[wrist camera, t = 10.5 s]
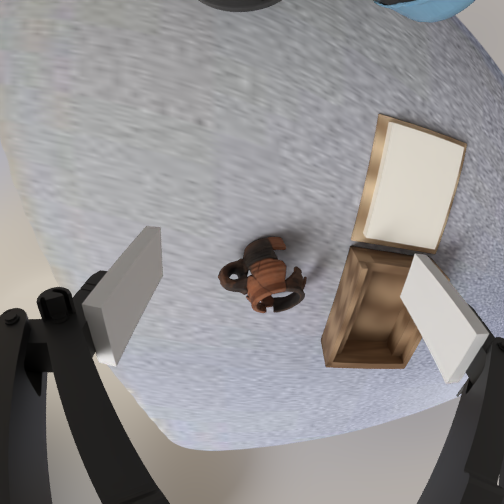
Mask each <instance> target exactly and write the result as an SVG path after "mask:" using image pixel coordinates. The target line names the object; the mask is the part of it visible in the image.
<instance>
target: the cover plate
mask: <svg viewBox="0 0 504 504" xmlns="http://www.w3.org/2000/svg"><path fill="white" fill-rule="evenodd" d="M463 151H464V147H462V146H460V145H457V144H455V143H452V142H449V141H447V140H444V139H441V138H439V137H436V136H433V135H430V134H427V133H424V132H421V131H418V130H415V129H412V128H409V127H406V126H403V125H399V124H396V123H393V122H389V123H388V128H387V134H386V139H385V144H384V149H383V153H382V158H381V163H380V167H379V172H378V176H377V180H376V185H375V189H374V193H373V197H372V201H371V205H370V209H369V213H368V217H367V220H366V224H365V228H364V231H363V234H364V236H365V237H366V238H371V239H377V240H383V241H389V242H395V243H401V244H406V245H412V246H418V247H423V248H429V249H434V250H435V248H436V245H437V242H438V240H439V237H440V234H441V231H442V228H443V225H444V222H445V218H446V215H447V212H448V209H449V205H450V202H451V199H452V195H453V192H454V188H455V184H456V180H457V177H458V173H459V168H460V164H461V160H462V156H463Z"/></svg>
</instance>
